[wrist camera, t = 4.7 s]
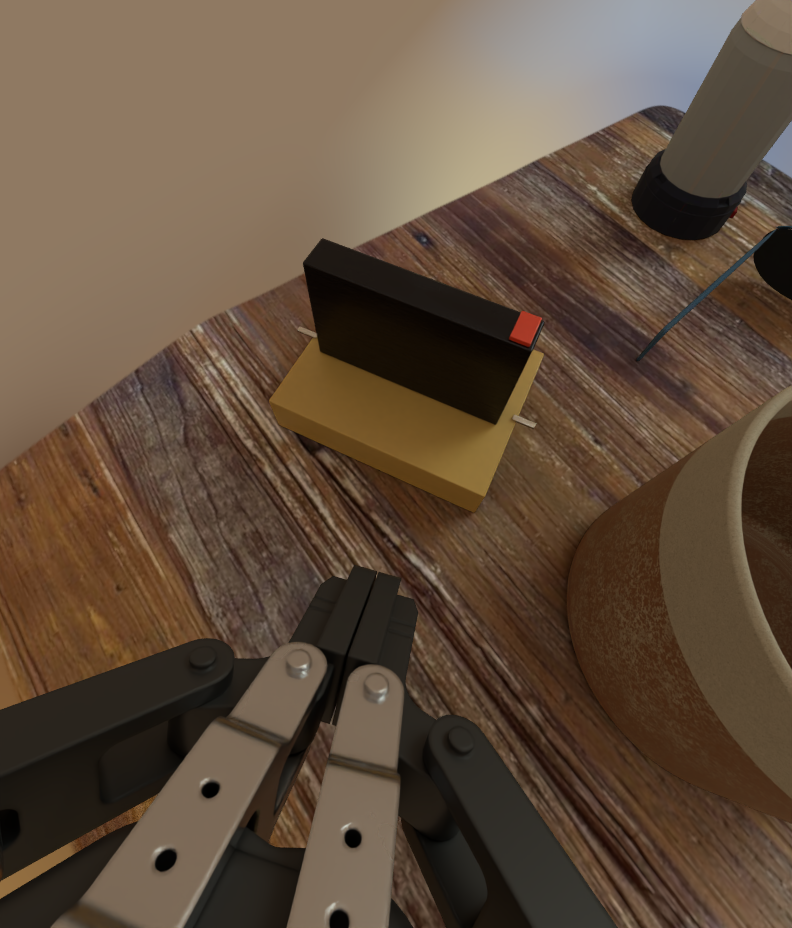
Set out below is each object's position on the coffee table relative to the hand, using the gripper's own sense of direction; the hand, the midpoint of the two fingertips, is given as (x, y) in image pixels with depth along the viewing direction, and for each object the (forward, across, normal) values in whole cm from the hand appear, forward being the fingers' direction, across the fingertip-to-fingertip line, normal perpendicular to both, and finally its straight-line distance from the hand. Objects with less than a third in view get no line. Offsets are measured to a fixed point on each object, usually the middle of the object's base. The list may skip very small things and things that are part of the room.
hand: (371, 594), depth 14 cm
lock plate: (+19, +2, -2) cm, 19 cm away
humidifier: (+38, -16, -20) cm, 45 cm away
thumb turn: (+17, +2, -4) cm, 17 cm away
